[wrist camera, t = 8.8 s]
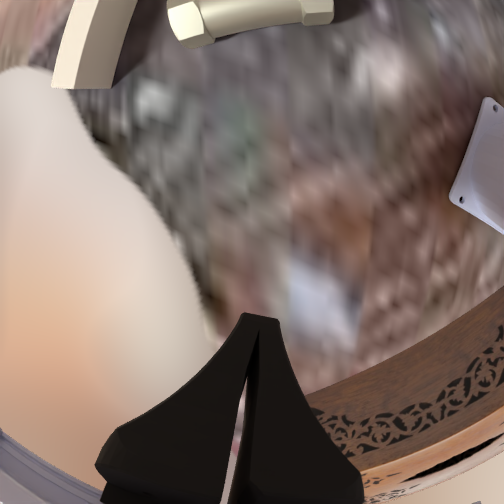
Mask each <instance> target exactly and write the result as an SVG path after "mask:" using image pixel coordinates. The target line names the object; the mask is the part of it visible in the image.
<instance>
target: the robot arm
mask: <svg viewBox="0 0 504 504" xmlns="http://www.w3.org/2000/svg"><path fill="white" fill-rule="evenodd" d="M493 106H495V111H494V110H493ZM460 197H463V198H462V201H461V202H459V199H460ZM449 199H450V201H451V202H452V203H454V204H456V205H457V206H459V207H461V208H462V209H464V210H466V211H467V212H469V213H471V214H472V215H474V216H476V217H477V218H479V219H481V220H482V221H484V222H485V223H487V224H488V225H490V226H491V227H493V228H495V229H496V230H498V231H499V232H501V233H502V234H504V108H503V107H502V106H501V105H500V104H498V103H497V102H496V101H495V100H494V99H492V98H491V97H485V98H484V99H483V102H482V105H481V109H480V112H479V115H478V119H477V122H476V125H475V128H474V131H473V134H472V137H471V140H470V143H469V145H468V148H467V151H466V154H465V156H464V159H463V161H462V164H461V167H460V169H459V172H458V174H457V176H456V179H455V181H454V184H453V186H452V188H451V191H450V193H449ZM246 379H247V386H246V398H245V410H244V421H243V430H242V436H241V441H240V446H239V451H238V456H237V461H236V466H235V471H234V476H233V480H232V485H231V489H230V494H229V498H228V503H227V504H363V503H364V501H365V497H364V486H363V481H362V477H361V473H360V471H359V470H358V469H357V468H356V467H355V466H354V465H353V464H352V463H351V462H350V461H349V460H348V459H347V458H346V456H345V455H344V454H343V453H342V452H341V451H340V449H339V448H338V447H337V446H336V444H335V443H334V442H333V441H332V439H331V438H330V437H329V435H328V434H327V432H326V431H325V429H324V428H323V426H322V425H321V424H320V422H319V421H318V419H317V418H316V416H315V414H314V413H313V411H312V409H311V407H310V406H309V404H308V402H307V400H306V398H305V396H304V394H303V392H302V390H301V388H300V386H299V384H298V381H297V379H296V377H295V374H294V372H293V369H292V367H291V364H290V361H289V358H288V355H287V352H286V349H285V345H284V342H283V338H282V334H281V329H280V322H279V321H278V319H275V318H270V317H265V316H260V315H255V314H250V313H245V312H244V313H242V314H241V316H240V318H239V320H238V322H237V324H236V326H235V328H234V329H233V331H232V332H231V334H230V335H229V337H228V338H227V339H226V341H225V342H224V344H223V345H222V346H221V348H220V349H219V350H218V351H217V352H216V354H215V355H214V356H213V357H212V358H211V359H210V360H209V361H208V363H207V364H206V365H205V366H204V367H203V368H202V369H201V370H200V371H199V372H198V373H197V374H196V375H195V376H194V377H193V378H191V379H190V380H189V381H188V382H187V383H186V384H185V385H184V386H182V387H181V388H180V389H179V390H178V391H176V392H175V393H174V394H172V395H171V396H170V397H168V398H167V399H166V400H164V401H162V402H161V403H159V404H158V405H156V406H155V407H153V408H152V409H150V410H149V411H147V412H146V413H144V414H142V415H140V416H139V417H137V418H135V419H133V420H131V421H129V422H127V423H125V424H123V425H121V426H119V427H117V429H115V431H114V432H113V433H112V434H111V435H110V437H109V438H108V440H107V441H106V443H105V444H104V446H103V447H102V449H101V451H100V454H99V456H98V458H97V461H96V463H95V467H96V469H97V471H98V472H99V473H100V474H101V475H102V476H103V478H104V479H105V480H106V481H107V483H106V486H105V488H104V491H101V490H99V489H97V488H95V487H93V486H90V485H88V484H86V483H84V482H82V481H80V480H78V479H76V478H74V477H73V476H71V475H69V474H67V473H65V472H63V471H62V470H60V469H58V468H56V467H55V466H53V465H51V464H50V463H48V462H46V461H45V460H43V459H41V458H40V457H38V456H37V455H35V454H34V453H32V452H31V451H29V450H28V449H26V448H25V447H23V446H22V445H20V444H19V443H18V442H16V441H15V440H14V439H12V438H11V437H10V436H8V435H7V434H6V433H4V432H3V431H2V429H1V428H0V503H1V504H220V502H221V498H222V493H223V489H224V484H225V479H226V473H227V468H228V462H229V457H230V451H231V446H232V440H233V435H234V429H235V424H236V418H237V413H238V407H239V402H240V398H241V395H242V392H243V389H244V385H245V382H246ZM473 504H481V501H478V502H475V503H473Z"/></svg>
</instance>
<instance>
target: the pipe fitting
mask: <svg viewBox="0 0 504 504" xmlns="http://www.w3.org/2000/svg"><path fill="white" fill-rule="evenodd" d="M167 13H168V18H169V21H170V24H171V27H172V30H173V32H174V34H175V36H176V37H177V39H178V41H179V42H180V43H181V44H182V45H183V46H184V47H186V48H189V49H195V48H198V47H202V46H205V45H209V44H212V43H214V42H215V38H217V37H221V36H225V35H229V34H234V33H238V32H243V31H247V30H252V29H258V28H263V27H269V26H275V25H282V24H289V23H297V22H302V23H303V24H304V25H305V26H313V25H325V24H329V23H330V22H331V21H332V20H333V18H334V1H333V0H168V1H167Z"/></svg>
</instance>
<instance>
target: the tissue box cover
mask: <svg viewBox="0 0 504 504" xmlns="http://www.w3.org/2000/svg"><path fill="white" fill-rule="evenodd" d="M305 398H306V400H307V402H308V404H309V406H310V407H311V409H312V411H313V413H314V414H315V416H316V418H317V419H318V421H319V422H320V424H321V425H322V426H323V428H324V429H325V431H326V432H327V434H328V435H329V437H330V438H331V439H332V441H333V442H334V443H335V444H336V446H337V447H338V448H339V449H340V451H341V452H342V453H343V454H344V455H345V456H346V458H347V459H348V460H349V461H350V462H351V463H352V464H353V465H354V466H355V467H356V468H357V469H358V470H359V471H360V473H361V477H362V481H363V486H364V497H365V501H364V503H363V504H381V503H384V502H387V501H391V500H394V499H398V498H401V497H404V496H407V495H410V494H413V493H416V492H419V491H421V490H424V489H427V488H429V487H432V486H434V485H437V484H439V483H442V482H444V481H446V480H449V479H451V478H453V477H455V476H458V475H460V474H462V473H464V472H466V471H468V470H470V469H472V468H474V467H476V466H478V465H480V464H482V463H484V462H485V461H487V460H489V459H491V458H493V457H494V456H496V455H498V454H499V453H501V452H503V451H504V286H503V287H501V288H500V289H499V290H498V291H496V292H495V293H494V294H492V295H491V296H490V297H488V298H487V299H485V300H484V301H483V302H481V303H480V304H478V305H477V306H476V307H474V308H473V309H471V310H470V311H468V312H467V313H465V314H464V315H462V316H461V317H459V318H458V319H456V320H455V321H453V322H452V323H450V324H449V325H447V326H445V327H444V328H442V329H441V330H439V331H437V332H436V333H434V334H432V335H431V336H429V337H427V338H426V339H424V340H422V341H420V342H419V343H417V344H415V345H413V346H412V347H410V348H408V349H406V350H404V351H402V352H401V353H399V354H397V355H395V356H393V357H391V358H389V359H387V360H385V361H383V362H381V363H379V364H377V365H375V366H373V367H371V368H369V369H367V370H365V371H363V372H360V373H358V374H356V375H354V376H352V377H349V378H347V379H345V380H343V381H340V382H338V383H336V384H333V385H331V386H328V387H326V388H324V389H321V390H319V391H316V392H313V393H311V394H308V395H306V396H305Z"/></svg>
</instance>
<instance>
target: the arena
mask: <svg viewBox="0 0 504 504" xmlns="http://www.w3.org/2000/svg"><path fill="white" fill-rule="evenodd" d="M137 1H138V0H75V1H74V4H73V7H72V10H71V12H70V15H69V18H68V21H67V24H66V28H65V31H64V34H63V38H62V41H61V45H60V48H59V52H58V56H57V60H56V65H55V69H54V74H53V78H52V84H51V87H52V88H66V89H111V86H112V82H113V78H114V74H115V70H116V66H117V62H118V59H119V55H120V52H121V48H122V45H123V41H124V38H125V35H126V32H127V29H128V26H129V23H130V20H131V17H132V14H133V12H134V9H135V6H136V3H137Z"/></svg>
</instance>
